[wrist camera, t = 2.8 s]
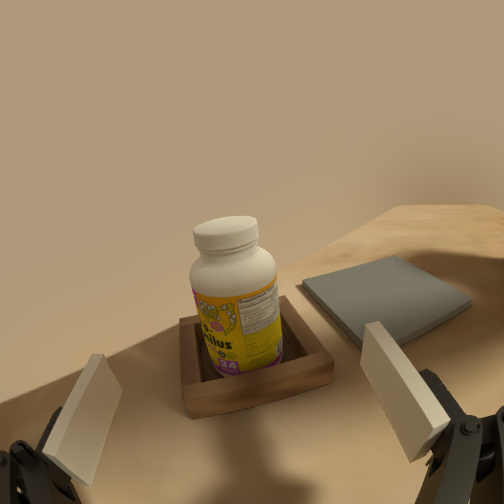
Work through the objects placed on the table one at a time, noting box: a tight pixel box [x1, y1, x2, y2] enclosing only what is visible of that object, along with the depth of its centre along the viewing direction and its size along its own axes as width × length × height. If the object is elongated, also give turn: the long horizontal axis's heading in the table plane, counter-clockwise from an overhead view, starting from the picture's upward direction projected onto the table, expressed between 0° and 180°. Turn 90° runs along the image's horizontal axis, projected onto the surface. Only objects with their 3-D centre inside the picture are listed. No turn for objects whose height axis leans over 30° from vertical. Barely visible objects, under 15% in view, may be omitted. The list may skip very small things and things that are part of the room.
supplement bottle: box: [190, 216, 283, 378], centre depth 22 cm, size 7×7×13 cm
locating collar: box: [179, 295, 334, 419], centre depth 24 cm, size 12×12×2 cm
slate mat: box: [302, 255, 473, 350], centre depth 30 cm, size 16×16×1 cm
